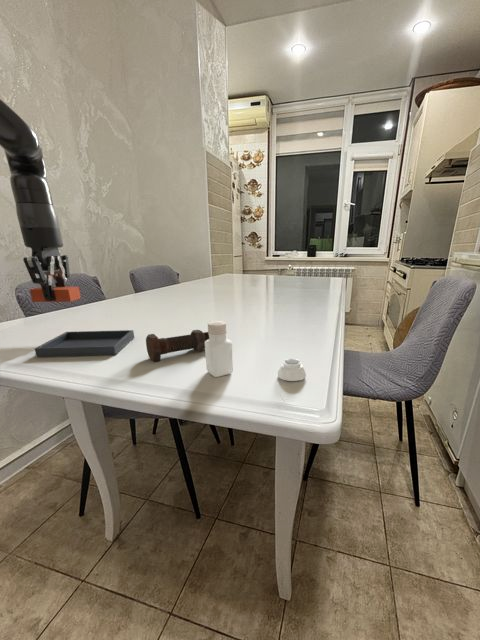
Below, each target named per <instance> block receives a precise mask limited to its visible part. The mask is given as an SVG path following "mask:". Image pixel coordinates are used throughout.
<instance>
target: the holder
mask: <svg viewBox="0 0 480 640" xmlns="http://www.w3.org/2000/svg"><path fill="white" fill-rule="evenodd" d="M134 339H135V331H134V329H129V330H128V329H125V330H124V329H121V330H88V331H87V330H85V331H84V330H83V331H82V330H81V331H65V332H64V333H61V334H60V335H58V336H55V337H54V338H52V339H50V340H48V341H46V342H44V343H42V344H40V345H39V346H37V347H35V348H33V349H34V353H35V356H36V358H60V357H61V358H62V357H63V358H65V357H66V358H67V357H93V356H95V357H96V356H98V357H99V356H116V355H118V354H119V353H120V352H121V351H122V350H123V349H124V348H125V347H126V346H127V345H128V344H130V342H132V341H133V340H134Z"/></svg>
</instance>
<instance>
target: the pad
mask: <svg viewBox="0 0 480 640" xmlns="http://www.w3.org/2000/svg"><path fill="white" fill-rule="evenodd" d="M53 289H54V294H55V298H56V300H54V301H46V300H45V299H44V295H43V291H42V287H41V286H39V287H35V288H30V289H29V294H30V298H31V302H32V303H70V302H73V301H77V300H79V299H81V298H82V296H81V292H80V288H79V286H66V287H56V286H53Z"/></svg>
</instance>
